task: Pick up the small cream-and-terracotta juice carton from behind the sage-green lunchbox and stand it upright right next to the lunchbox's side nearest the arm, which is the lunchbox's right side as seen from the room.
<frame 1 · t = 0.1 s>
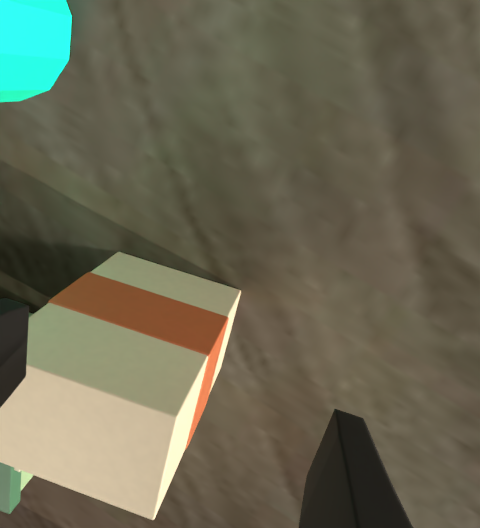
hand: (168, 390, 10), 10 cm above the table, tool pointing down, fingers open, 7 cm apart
juice carton: (170, 310, 21), on the table
candle: (7, 22, 18), on the table
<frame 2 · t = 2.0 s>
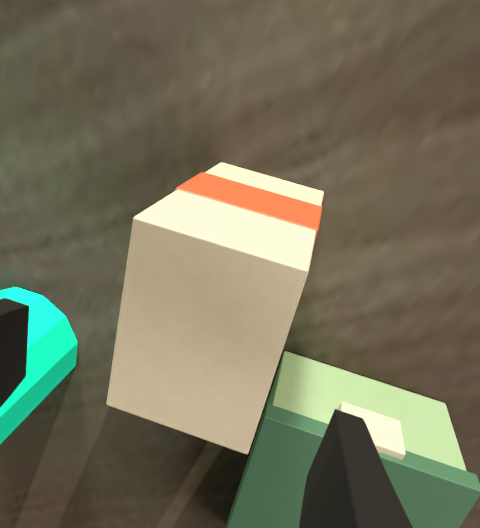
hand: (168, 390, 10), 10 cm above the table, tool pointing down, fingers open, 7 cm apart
juice carton: (254, 242, 20), on the table
candle: (30, 335, 24), on the table
lunchbox: (322, 471, 23), on the table
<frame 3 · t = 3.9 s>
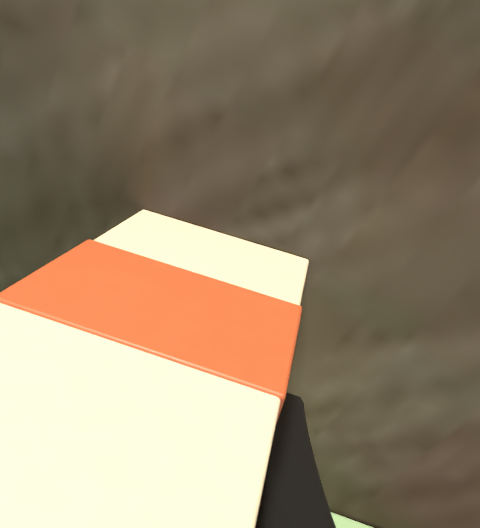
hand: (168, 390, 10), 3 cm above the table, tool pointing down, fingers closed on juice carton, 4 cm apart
juice carton: (201, 332, 12), on the table, touching gripper
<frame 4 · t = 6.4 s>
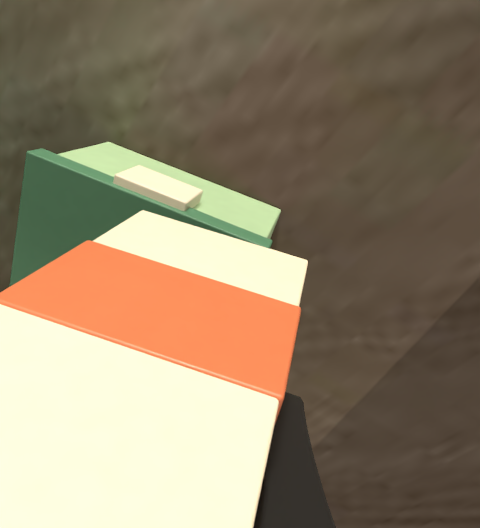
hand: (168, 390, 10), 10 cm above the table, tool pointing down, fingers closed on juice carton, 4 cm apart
juice carton: (200, 332, 12), point 7 cm above the table, touching gripper
lunchbox: (156, 302, 21), on the table
when the fingers open (3 cm above the table, at t = 9.2 s): juice carton stays where it is, on the table.
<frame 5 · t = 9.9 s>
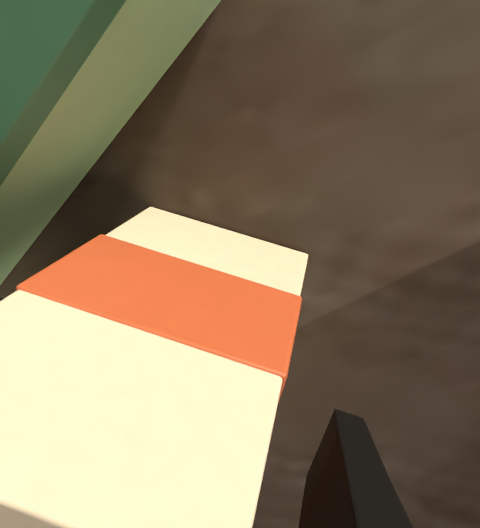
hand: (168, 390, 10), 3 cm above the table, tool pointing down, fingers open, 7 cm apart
juice carton: (205, 324, 13), on the table
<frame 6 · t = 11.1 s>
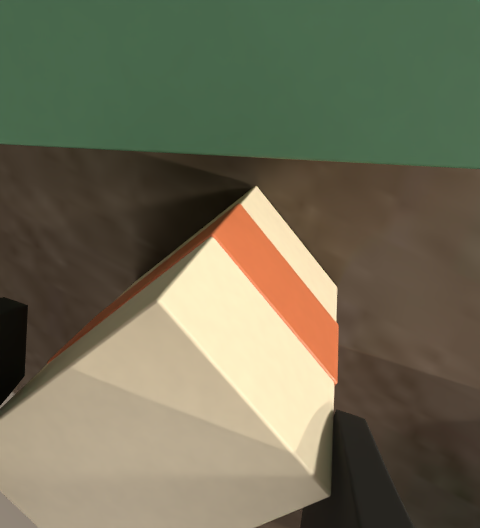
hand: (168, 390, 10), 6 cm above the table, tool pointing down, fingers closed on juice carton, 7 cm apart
juice carton: (230, 284, 16), on the table, touching gripper
when the fingers open (7 cm above the table, at t = 11.7 s): juice carton stays where it is, point 1 cm above the table.
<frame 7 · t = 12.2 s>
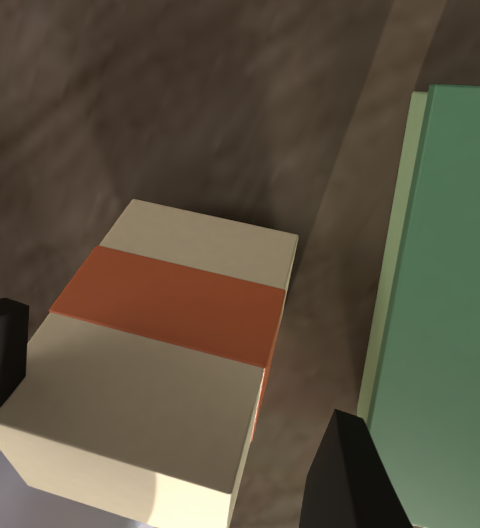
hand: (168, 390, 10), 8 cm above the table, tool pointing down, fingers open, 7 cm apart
juice carton: (212, 260, 17), point 1 cm above the table, tilted 22°, touching gripper
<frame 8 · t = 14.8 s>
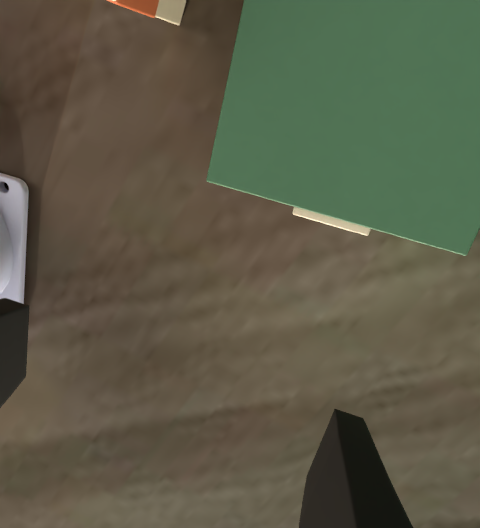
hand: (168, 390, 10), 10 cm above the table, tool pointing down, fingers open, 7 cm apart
lunchbox: (393, 2, 15), on the table
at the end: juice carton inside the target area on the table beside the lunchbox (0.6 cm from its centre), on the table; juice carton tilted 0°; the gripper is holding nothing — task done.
